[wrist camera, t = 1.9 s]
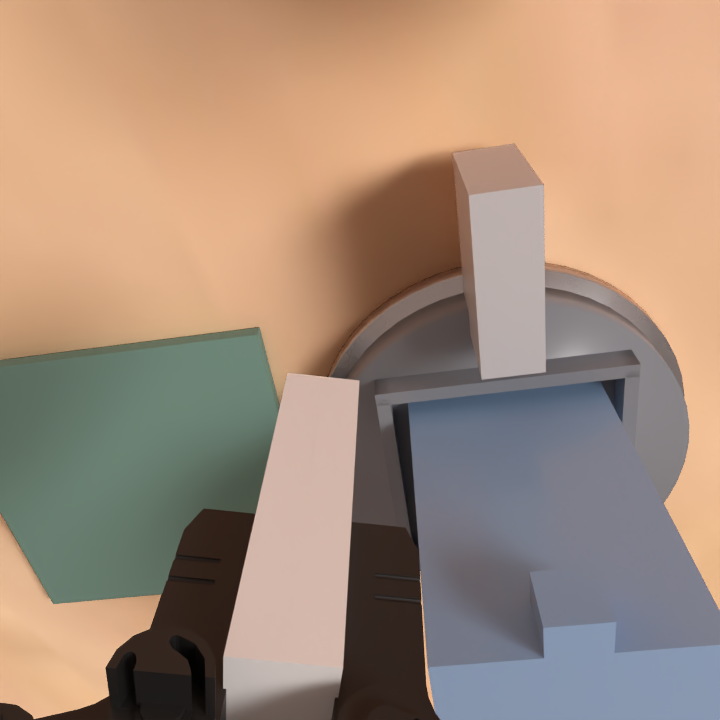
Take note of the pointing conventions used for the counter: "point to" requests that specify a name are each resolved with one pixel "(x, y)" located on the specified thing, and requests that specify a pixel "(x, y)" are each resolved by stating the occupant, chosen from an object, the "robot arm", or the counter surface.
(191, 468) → the plate
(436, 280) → the turntable base
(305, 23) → the counter surface
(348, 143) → the counter surface
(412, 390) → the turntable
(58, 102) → the counter surface
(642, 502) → the blue block
